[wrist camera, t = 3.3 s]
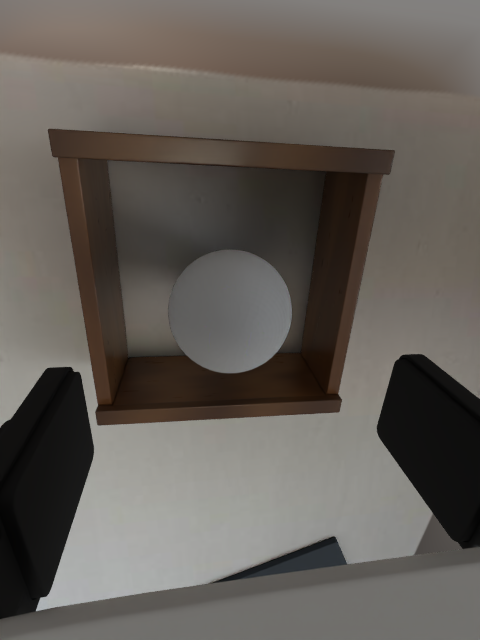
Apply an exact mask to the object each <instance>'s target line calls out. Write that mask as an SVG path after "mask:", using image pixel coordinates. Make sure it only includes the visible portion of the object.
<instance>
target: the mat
mask: <svg viewBox="0 0 480 640" xmlns="http://www.w3.org/2000/svg"><path fill="white" fill-rule="evenodd" d="M340 565H347V563H346V561H345V558H344V556H343V554H342V551H341V549H340V547H339V545H338V542H337V540H336V538H335V537H333V538H331V539H328V540H325V541H323V542H320V543H317V544H315V545H312V546H310V547H307V548H304V549H302V550H299V551H296V552H294V553H291V554H289V555H286V556H283V557H281V558H278V559H275V560H273V561H270V562H268V563H265V564H262V565H260V566H257V567H254V568H252V569H249V570H247V571H244V572H241V573H239V574H236V575H233V576H231V577H228V578H226V579H223V580H220V581H218V582H225V581H232V580H239V579H247V578H254V577H261V576H268V575H275V574H282V573H289V572H296V571H304V570H311V569H318V568H325V567H333V566H340ZM218 582H215V583H218Z"/></svg>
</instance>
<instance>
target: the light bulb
mask: <svg viewBox="0 0 480 640" xmlns="http://www.w3.org/2000/svg"><path fill="white" fill-rule="evenodd" d="M168 317H169V323H170V328H171V331H172V333H173V336H174V338H175V340H176V342H177V343H178V345H179V347H180V348H181V349H182V351H183V352H184V353H185V354H186V355H187V356H188V357H189V358H190V359H191V360H193V361H194V362H195V363H197V364H199V365H200V366H202V367H204V368H207V369H209V370H212V371H216V372H221V373H240V372H245V371H249V370H252V369H254V368H256V367H258V366H260V365H262V364H264V363H265V362H267V361H268V360H269V359H270V358H272V357H273V356H274V355H275V353H276V352H277V351H278V350H279V349H280V347H281V346H282V344H283V343H284V341H285V339H286V337H287V335H288V332H289V329H290V325H291V319H292V304H291V298H290V294H289V291H288V289H287V286H286V284H285V282H284V280H283V279H282V277H281V275H280V274H279V273H278V272H277V271H276V269H275V268H274V267H273V266H271V265H270V264H269V263H268V262H267V261H265V260H264V259H262V258H260V257H259V256H257V255H254V254H252V253H249V252H246V251H241V250H231V249H227V250H218V251H215V252H211V253H208V254H206V255H204V256H201V257H200V258H198V259H196V260H195V261H193V262H192V263H191V264H190V265H189V266H188V267H187V268H185V269H184V271H183V272H182V273H181V274H180V276H179V277H178V279H177V281H176V283H175V284H174V286H173V289H172V292H171V295H170V300H169V306H168Z"/></svg>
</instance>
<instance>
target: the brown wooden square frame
mask: <svg viewBox="0 0 480 640" xmlns="http://www.w3.org/2000/svg"><path fill="white" fill-rule="evenodd" d="M48 134H49V140H50V146H51V151H52V156H53V157H57V158H58V162H59V168H60V174H61V180H62V186H63V192H64V199H65V205H66V211H67V217H68V223H69V229H70V236H71V242H72V248H73V254H74V260H75V266H76V273H77V279H78V285H79V291H80V297H81V303H82V309H83V316H84V322H85V328H86V334H87V340H88V346H89V353H90V359H91V365H92V371H93V377H94V383H95V390H96V396H97V402H98V407H97V409H96V412H95V413H96V419H97V425H115V424H134V423H152V422H170V421H188V420H206V419H225V418H243V417H261V416H279V415H297V414H316V413H334V412H339V411H340V407H341V402H342V399H341V398H340V396H339V395H338V392H339V387H340V382H341V377H342V372H343V367H344V363H345V358H346V353H347V348H348V343H349V338H350V333H351V328H352V324H353V319H354V314H355V309H356V304H357V299H358V294H359V290H360V285H361V280H362V275H363V270H364V265H365V260H366V255H367V251H368V246H369V241H370V236H371V231H372V226H373V221H374V216H375V212H376V207H377V202H378V197H379V192H380V187H381V182H382V177H383V174H386V175H389V174H390V172H391V167H392V162H393V158H394V153H395V151H394V150H380V149H364V148H348V147H332V146H316V145H301V144H285V143H269V142H253V141H237V140H221V139H205V138H189V137H173V136H158V135H142V134H126V133H110V132H94V131H78V130H62V129H48ZM107 160H115V161H134V162H153V163H173V164H192V165H211V166H231V167H250V168H269V169H289V170H308V171H326V176H325V183H324V190H323V198H322V205H321V212H320V219H319V226H318V233H317V240H316V248H315V255H314V262H313V269H312V276H311V283H310V291H309V298H308V305H307V312H306V319H305V326H304V333H303V341H302V348H301V353H275V355H274V356H273V357H272V358H270V359H269V360H268V361H267V362H265V363H264V364H262V365H260V366H258V367H256V368H254V369H252V370H249V371H245V372H240V373H221V372H216V371H212V370H209V369H207V368H204V367H202V366H200V365H199V364H197V363H195V362H194V361H193V360H191V359H190V358H189V357H188V356H160V357H129V358H128V350H127V340H126V331H125V322H124V313H123V303H122V294H121V285H120V275H119V266H118V257H117V247H116V238H115V229H114V219H113V210H112V201H111V192H110V182H109V173H108V164H107Z"/></svg>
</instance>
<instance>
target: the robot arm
mask: <svg viewBox="0 0 480 640" xmlns="http://www.w3.org/2000/svg"><path fill="white" fill-rule="evenodd" d="M377 433H378V436H379V438H380V439H381V441H382V442H383V444H384V445H385V446H386V448H387V449H388V451H389V452H390V453H391V455H392V456H393V458H394V459H395V460H396V462H397V463H398V465H399V466H400V467H401V469H402V470H403V472H404V473H405V474H406V476H407V477H408V479H409V480H410V481H411V483H412V484H413V486H414V487H415V489H416V490H417V491H418V493H419V494H420V496H421V497H422V498H423V500H424V501H425V503H426V504H427V505H428V507H429V508H430V510H431V511H432V512H433V514H434V515H435V517H436V518H437V519H438V521H439V522H440V523H441V525H442V526H443V528H444V529H445V531H446V532H447V533H448V535H449V536H450V537H451V538H452V539H453V540H454V541H456V542H458V543H459V544H460V546H461V547H462V549H460V550H452V551H445V552H437V553H429V554H421V555H414V556H406V557H399V558H392V559H384V560H377V561H369V562H362V563H355V564H347V565H340V566H333V567H325V568H318V569H311V570H304V571H296V572H289V573H282V574H275V575H268V576H261V577H254V578H247V579H239V580H232V581H225V582H218V583H211V584H204V585H197V586H190V587H183V588H176V589H169V590H162V591H155V592H148V593H142V594H136V595H129V596H123V597H117V598H111V599H105V600H99V601H92V602H86V603H80V604H74V605H68V606H61V607H55V608H50V609H46V610H41V611H36V608H37V605H38V603H39V600H40V597H46V596H47V595H48V594H49V592H50V590H51V587H52V584H53V581H54V578H55V575H56V572H57V569H58V566H59V563H60V559H61V556H62V553H63V550H64V547H65V544H66V541H67V538H68V535H69V532H70V528H71V525H72V522H73V519H74V516H75V513H76V510H77V507H78V504H79V501H80V497H81V494H82V491H83V488H84V485H85V482H86V479H87V476H88V473H89V470H90V466H91V463H92V460H93V455H94V445H93V440H92V434H91V429H90V423H89V418H88V412H87V406H86V401H85V395H84V390H83V384H82V379H81V375H80V373H79V372H74V371H73V369H72V368H71V367H56V368H47V369H46V370H45V371H44V373H43V374H42V376H41V377H40V378H39V380H38V381H37V383H36V384H35V386H34V387H33V388H32V390H31V391H30V393H29V394H28V396H27V397H26V398H25V400H24V401H23V403H22V404H21V406H20V407H19V408H18V410H17V411H16V413H15V414H14V416H13V417H12V418H11V419H10V420H8V421H6V422H5V423H4V424H3V425H2V426H1V428H0V640H480V399H479V398H477V397H476V396H475V395H474V394H472V393H471V392H470V391H469V390H467V389H466V388H465V387H464V386H462V385H461V384H460V383H458V382H457V381H456V380H455V379H453V378H452V377H451V376H450V375H448V374H447V373H446V372H445V371H443V370H442V369H441V368H440V367H438V366H437V365H436V364H435V363H433V362H432V361H431V360H429V359H428V358H427V357H426V356H424V355H422V354H410V355H402V356H401V357H400V358H399V360H396V362H395V364H394V367H393V370H392V374H391V378H390V381H389V385H388V388H387V392H386V396H385V399H384V403H383V406H382V410H381V414H380V417H379V421H378V424H377ZM35 611H36V612H35Z"/></svg>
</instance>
